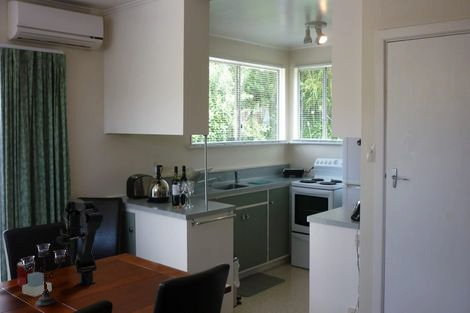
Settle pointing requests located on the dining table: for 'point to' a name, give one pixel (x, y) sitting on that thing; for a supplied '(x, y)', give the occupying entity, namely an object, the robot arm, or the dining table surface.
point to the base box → (35, 289)
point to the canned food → (23, 274)
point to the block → (35, 279)
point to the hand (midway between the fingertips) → (75, 253)
